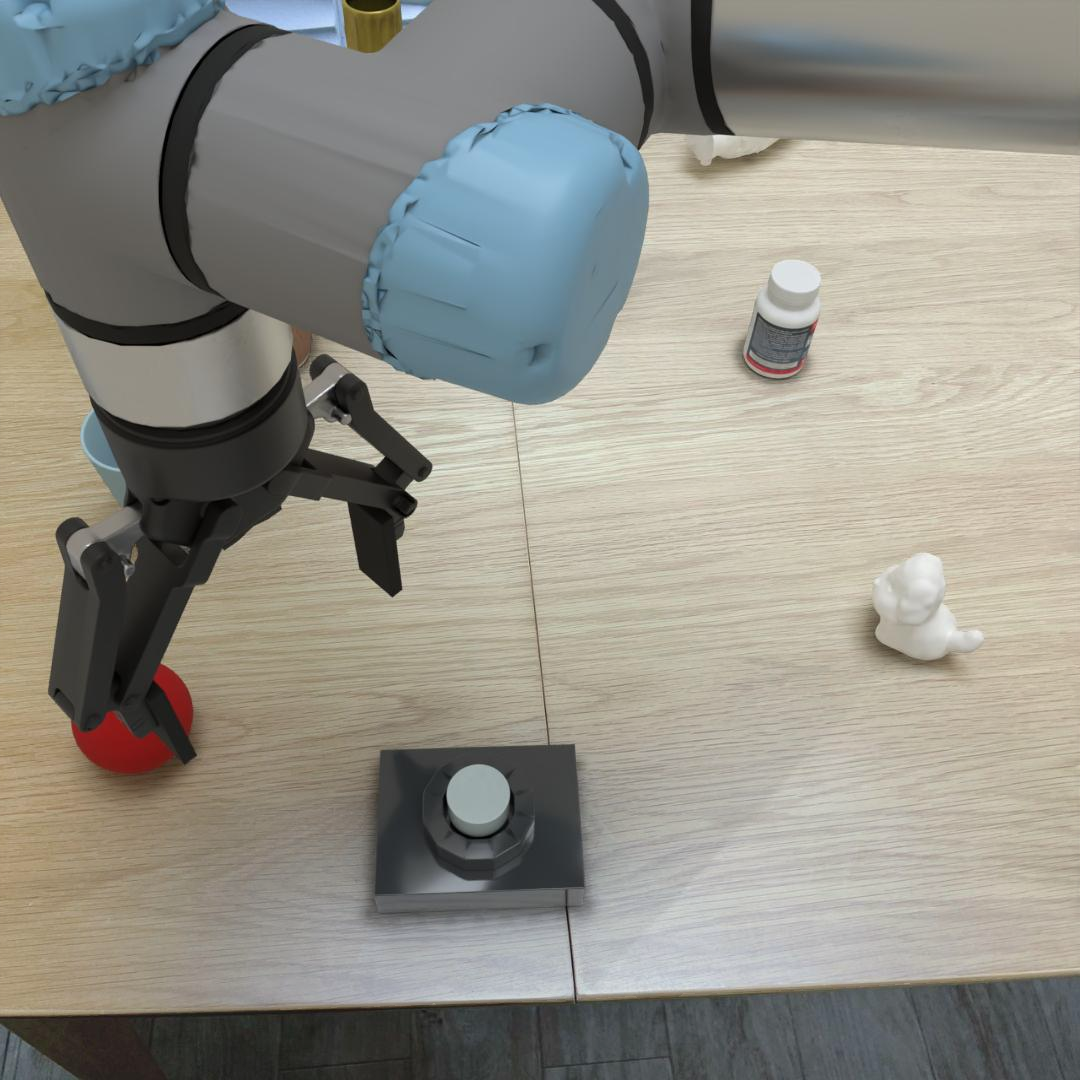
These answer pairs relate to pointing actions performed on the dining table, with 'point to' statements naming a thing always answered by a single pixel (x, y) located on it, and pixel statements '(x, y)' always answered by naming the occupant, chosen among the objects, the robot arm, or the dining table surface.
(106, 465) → the cup
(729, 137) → the white bottle
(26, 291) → the dining table surface
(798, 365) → the pill bottle
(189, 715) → the christmas ornament
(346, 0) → the vase
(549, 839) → the push button box
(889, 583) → the figurine
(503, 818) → the grey short cylinder
